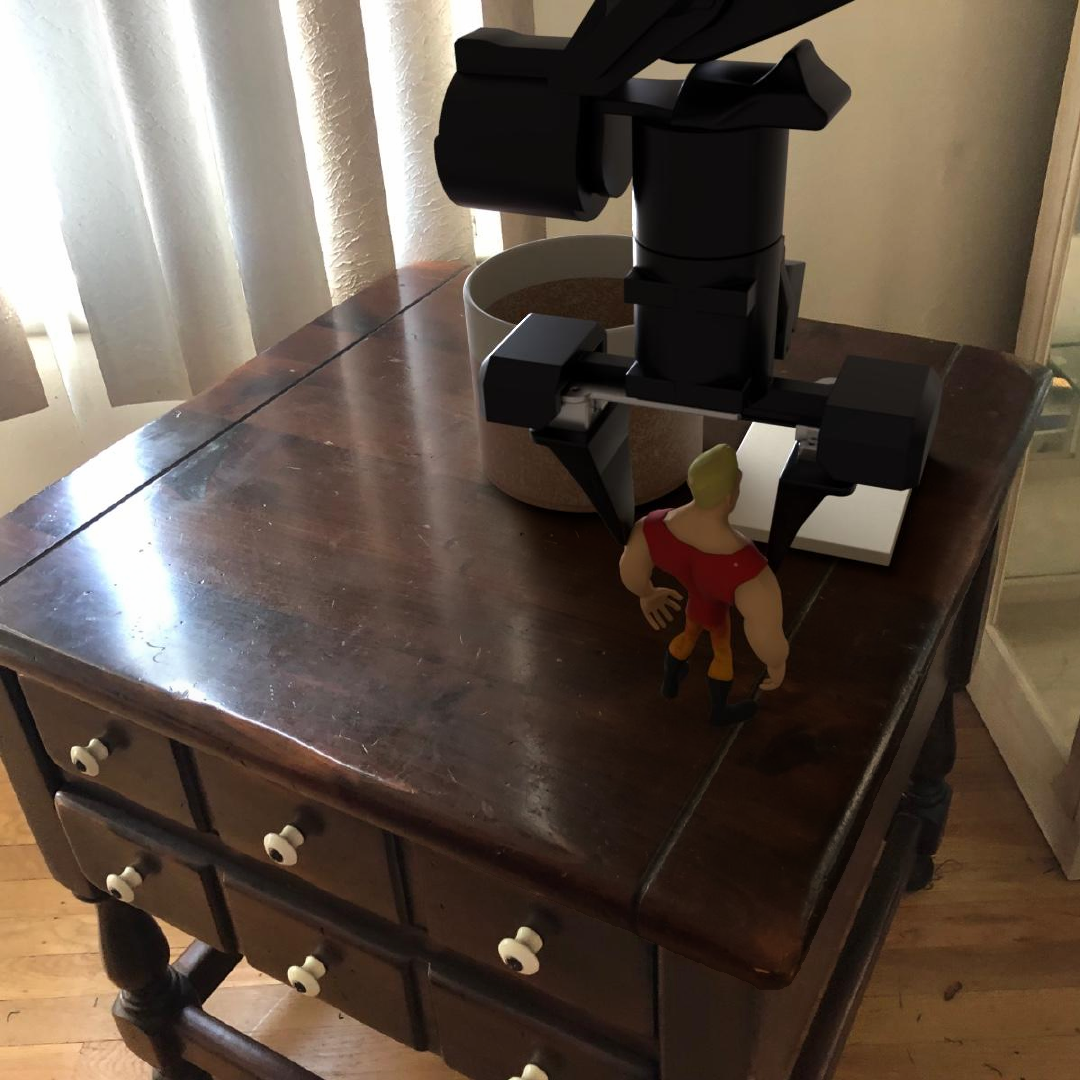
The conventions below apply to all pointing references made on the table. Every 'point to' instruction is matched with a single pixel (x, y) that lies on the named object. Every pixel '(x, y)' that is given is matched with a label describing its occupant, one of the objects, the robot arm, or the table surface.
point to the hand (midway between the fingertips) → (698, 554)
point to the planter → (598, 295)
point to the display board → (835, 525)
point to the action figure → (709, 583)
